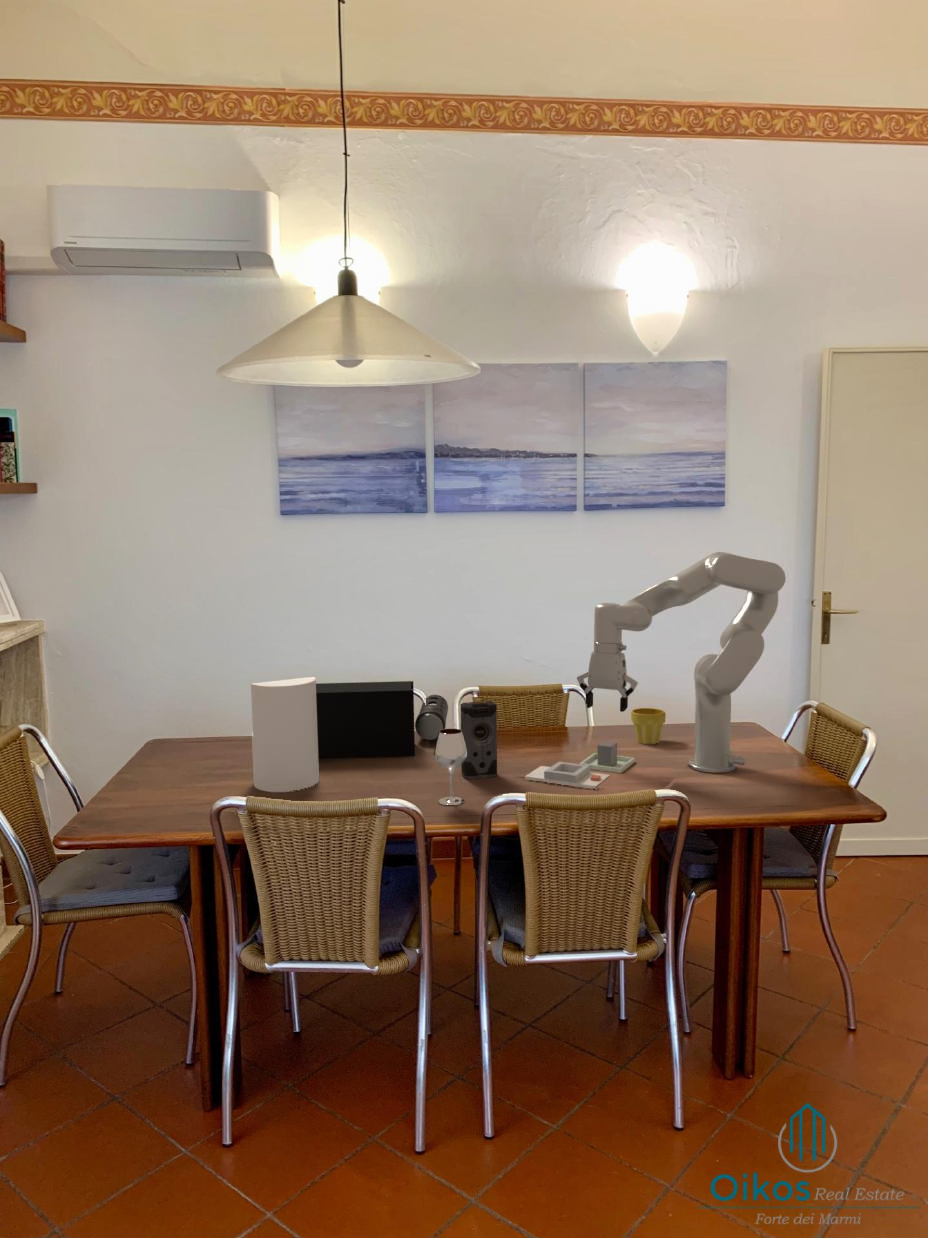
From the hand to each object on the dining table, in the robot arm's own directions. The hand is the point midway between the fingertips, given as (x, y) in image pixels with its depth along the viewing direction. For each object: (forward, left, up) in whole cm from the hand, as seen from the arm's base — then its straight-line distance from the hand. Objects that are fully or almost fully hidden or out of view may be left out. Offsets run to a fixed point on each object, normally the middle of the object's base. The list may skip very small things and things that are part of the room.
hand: (606, 709), depth 253 cm
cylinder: (+73, +50, -17) cm, 90 cm away
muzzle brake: (+64, -13, -17) cm, 67 cm away
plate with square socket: (+6, +15, -17) cm, 23 cm away
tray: (0, 0, -17) cm, 17 cm away
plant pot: (-2, -32, -17) cm, 36 cm away
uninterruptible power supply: (+73, +16, -17) cm, 76 cm away
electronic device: (+29, +22, -17) cm, 40 cm away
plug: (0, 0, -16) cm, 16 cm away
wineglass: (+25, +45, -17) cm, 54 cm away
